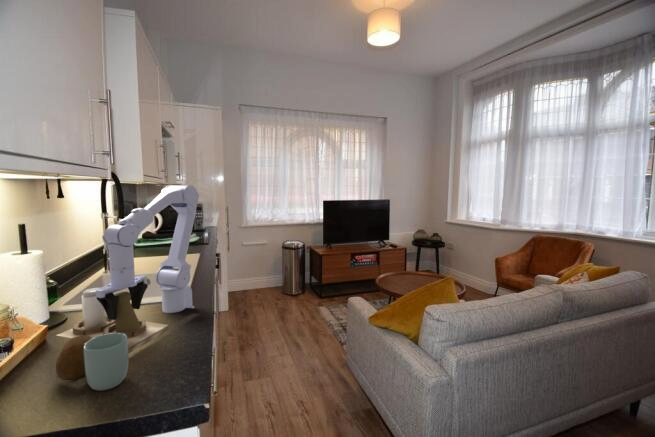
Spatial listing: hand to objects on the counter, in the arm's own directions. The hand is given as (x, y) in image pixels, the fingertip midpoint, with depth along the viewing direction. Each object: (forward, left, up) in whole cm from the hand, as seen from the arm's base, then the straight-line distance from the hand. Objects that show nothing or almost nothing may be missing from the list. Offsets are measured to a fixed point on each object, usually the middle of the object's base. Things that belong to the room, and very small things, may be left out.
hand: (124, 313), depth 88 cm
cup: (+18, +15, -7) cm, 24 cm away
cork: (0, +1, -5) cm, 5 cm away
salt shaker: (0, -11, -5) cm, 12 cm away
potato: (+16, +5, -7) cm, 18 cm away
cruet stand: (0, -4, -7) cm, 8 cm away
